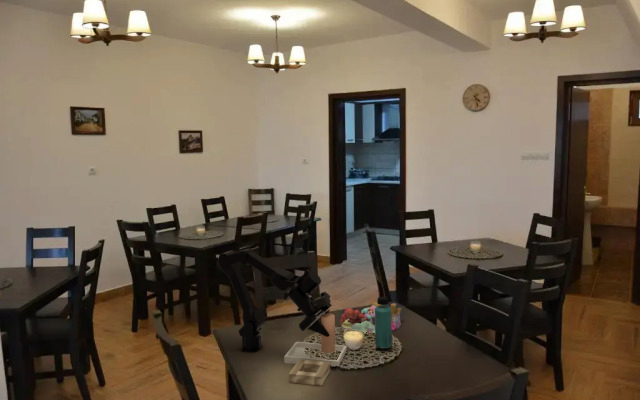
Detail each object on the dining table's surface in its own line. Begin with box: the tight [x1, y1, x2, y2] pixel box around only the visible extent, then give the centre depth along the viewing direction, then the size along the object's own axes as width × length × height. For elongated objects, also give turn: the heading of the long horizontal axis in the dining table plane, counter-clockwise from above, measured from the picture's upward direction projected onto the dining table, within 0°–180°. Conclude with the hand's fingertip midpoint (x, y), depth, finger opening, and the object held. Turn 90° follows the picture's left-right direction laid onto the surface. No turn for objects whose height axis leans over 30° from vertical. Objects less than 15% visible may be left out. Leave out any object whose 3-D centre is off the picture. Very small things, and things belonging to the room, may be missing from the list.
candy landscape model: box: [340, 301, 402, 333], centre depth 218 cm, size 25×24×9 cm
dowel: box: [320, 313, 336, 353], centre depth 183 cm, size 5×5×13 cm
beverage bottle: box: [374, 296, 393, 349], centre depth 192 cm, size 6×7×20 cm
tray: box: [283, 341, 348, 367], centre depth 186 cm, size 20×14×2 cm
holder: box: [288, 360, 331, 387], centre depth 171 cm, size 11×11×3 cm
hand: (331, 333), depth 182 cm, fingers closed on dowel, 5 cm apart
